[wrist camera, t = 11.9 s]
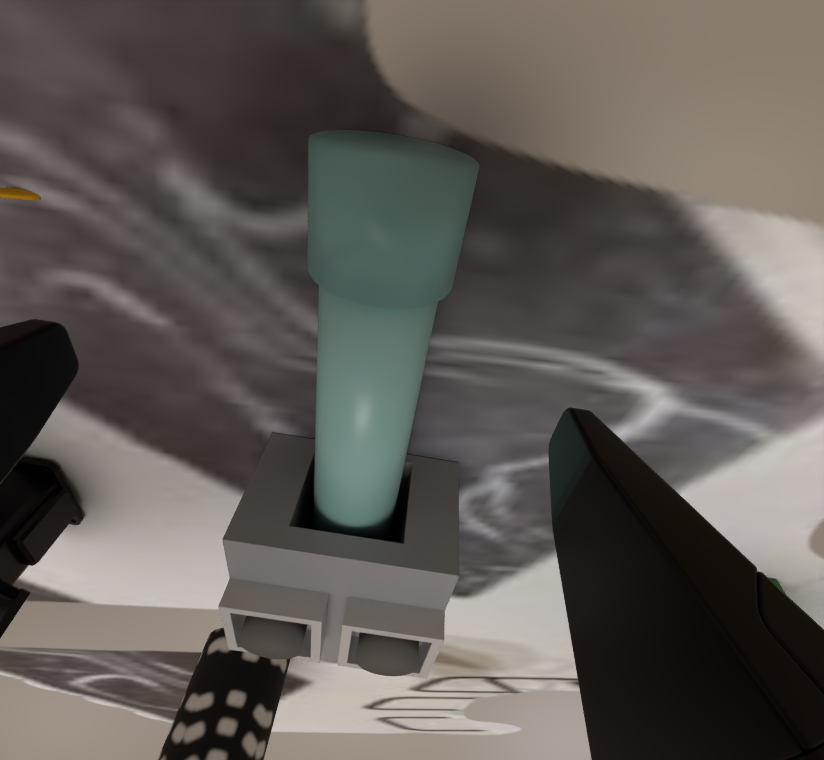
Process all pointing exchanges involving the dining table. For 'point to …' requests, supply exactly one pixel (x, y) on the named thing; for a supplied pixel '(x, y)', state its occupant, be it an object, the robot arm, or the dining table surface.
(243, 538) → the housing
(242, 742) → the spotted tube
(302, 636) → the plunger
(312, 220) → the cartridge
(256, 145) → the dining table surface
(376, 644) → the plunger
